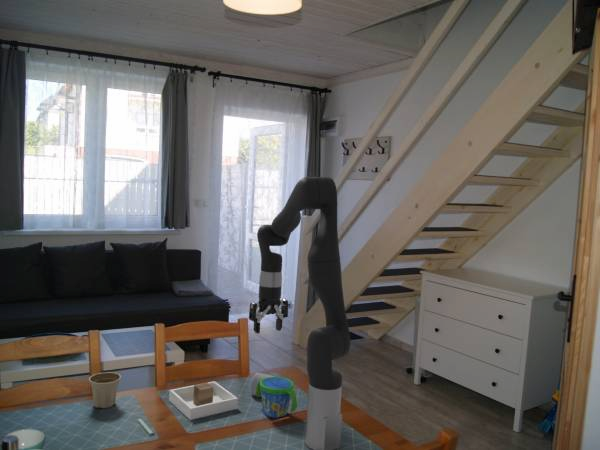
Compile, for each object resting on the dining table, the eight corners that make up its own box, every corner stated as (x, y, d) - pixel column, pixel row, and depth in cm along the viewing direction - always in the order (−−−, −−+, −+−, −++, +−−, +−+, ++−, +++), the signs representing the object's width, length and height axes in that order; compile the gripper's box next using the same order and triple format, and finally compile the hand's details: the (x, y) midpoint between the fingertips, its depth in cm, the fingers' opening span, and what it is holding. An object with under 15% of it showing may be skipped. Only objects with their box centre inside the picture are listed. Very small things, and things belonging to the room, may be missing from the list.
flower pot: (81, 405, 159) (82, 378, 159) (105, 395, 168) (106, 370, 167) (102, 413, 155) (103, 385, 154) (126, 402, 163) (127, 376, 163)
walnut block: (212, 405, 164) (213, 387, 163) (199, 408, 161) (200, 389, 160) (206, 400, 167) (206, 382, 167) (193, 403, 164) (194, 385, 164)
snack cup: (304, 418, 159) (306, 386, 159) (278, 428, 152) (280, 394, 151) (271, 401, 171) (273, 371, 170) (246, 409, 163) (248, 378, 163)
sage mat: (183, 426, 149) (183, 425, 149) (149, 435, 144) (149, 433, 143) (169, 413, 157) (169, 412, 157) (137, 421, 152) (137, 419, 151)
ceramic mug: (273, 402, 170) (275, 379, 170) (249, 399, 172) (251, 376, 171) (280, 390, 181) (282, 369, 180) (258, 387, 182) (259, 366, 182)
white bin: (237, 410, 162) (237, 398, 162) (190, 421, 153) (190, 408, 153) (213, 392, 175) (214, 381, 175) (169, 402, 166) (169, 390, 165)
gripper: (258, 287, 166) (255, 337, 167) (294, 284, 174) (291, 331, 175) (246, 283, 172) (243, 331, 173) (281, 280, 180) (279, 326, 181)
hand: (267, 331), depth 174 cm, fingers open, 8 cm apart
